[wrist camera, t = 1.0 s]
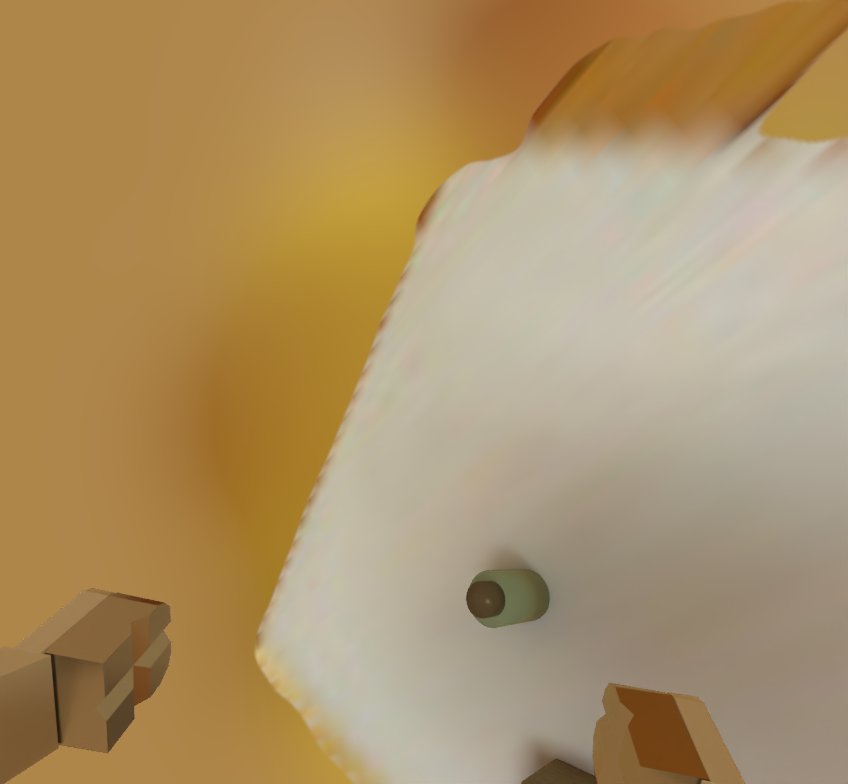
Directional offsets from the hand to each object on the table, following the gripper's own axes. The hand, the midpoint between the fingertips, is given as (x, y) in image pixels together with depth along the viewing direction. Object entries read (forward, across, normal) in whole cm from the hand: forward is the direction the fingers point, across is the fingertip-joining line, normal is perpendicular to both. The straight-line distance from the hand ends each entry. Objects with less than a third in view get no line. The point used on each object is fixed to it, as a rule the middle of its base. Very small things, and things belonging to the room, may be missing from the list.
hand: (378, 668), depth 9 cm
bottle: (+34, -9, +22) cm, 42 cm away
